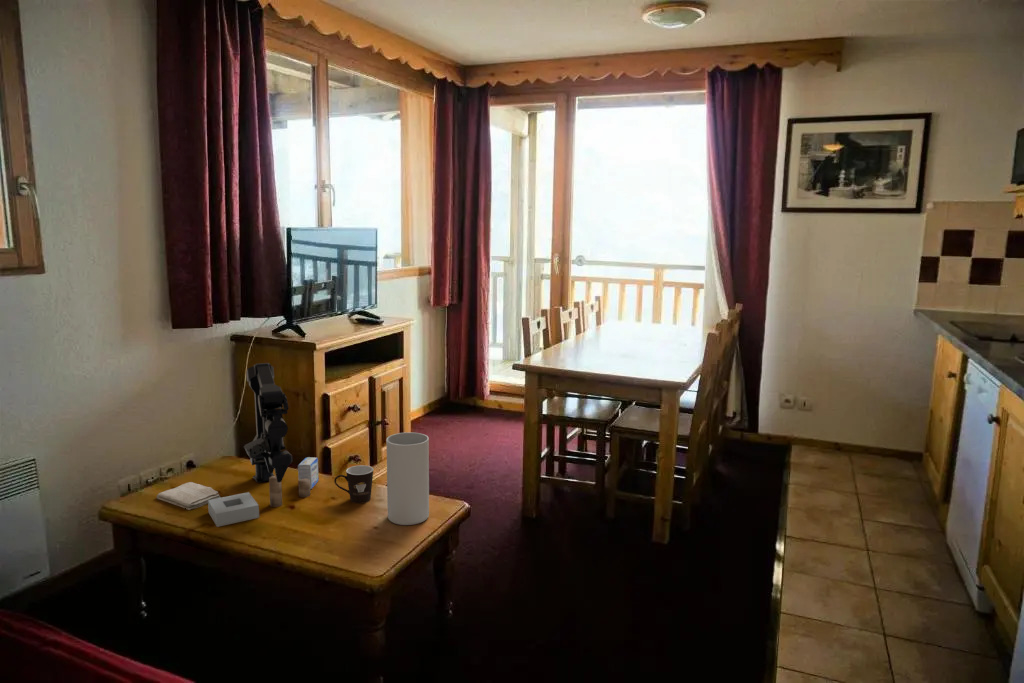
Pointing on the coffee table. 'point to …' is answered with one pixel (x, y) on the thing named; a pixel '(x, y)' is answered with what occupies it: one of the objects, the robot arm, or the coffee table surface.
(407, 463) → the cylinder vase
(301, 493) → the short dowel
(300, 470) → the medicine box
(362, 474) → the coffee mug
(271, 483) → the long dowel
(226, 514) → the socket block
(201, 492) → the washcloth
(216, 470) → the coffee table surface
